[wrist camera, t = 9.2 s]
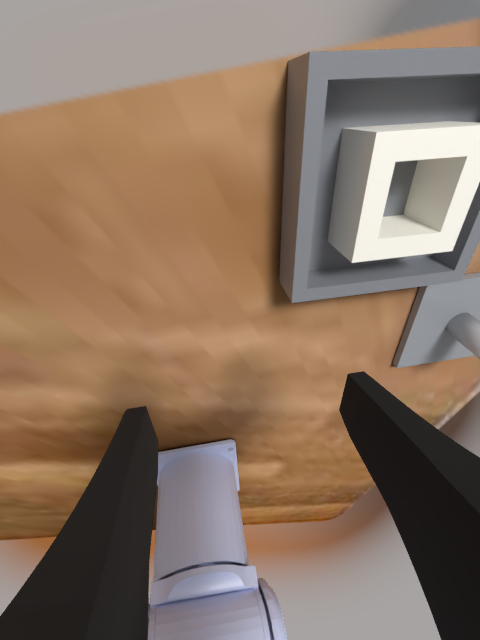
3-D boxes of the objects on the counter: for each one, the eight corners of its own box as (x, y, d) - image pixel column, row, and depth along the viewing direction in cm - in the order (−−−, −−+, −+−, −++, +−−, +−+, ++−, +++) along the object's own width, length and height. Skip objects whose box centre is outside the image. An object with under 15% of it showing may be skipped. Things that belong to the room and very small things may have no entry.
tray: (431, 263, 20) (461, 281, 18) (279, 281, 19) (291, 303, 17) (508, 53, 14) (566, 43, 12) (288, 61, 13) (309, 51, 11)
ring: (448, 121, 15) (502, 123, 12) (415, 231, 18) (452, 251, 15) (342, 128, 14) (376, 132, 12) (327, 241, 17) (351, 262, 15)
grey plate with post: (476, 349, 26) (531, 394, 22) (392, 363, 25) (433, 412, 21) (523, 266, 22) (604, 304, 18) (422, 279, 21) (482, 321, 17)
